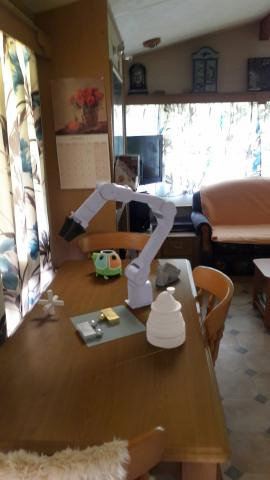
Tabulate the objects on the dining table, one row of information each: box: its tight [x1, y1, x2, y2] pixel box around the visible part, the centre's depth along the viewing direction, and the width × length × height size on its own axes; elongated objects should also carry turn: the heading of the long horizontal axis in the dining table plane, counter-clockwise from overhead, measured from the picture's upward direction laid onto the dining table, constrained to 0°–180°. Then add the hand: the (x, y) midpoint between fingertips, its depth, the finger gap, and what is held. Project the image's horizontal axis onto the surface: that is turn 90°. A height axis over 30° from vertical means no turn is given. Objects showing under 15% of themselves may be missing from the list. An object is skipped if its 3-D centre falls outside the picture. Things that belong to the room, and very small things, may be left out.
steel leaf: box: [76, 320, 103, 343], centre depth 124 cm, size 9×6×2 cm
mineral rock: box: [155, 261, 182, 287], centre depth 163 cm, size 13×11×10 cm
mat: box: [69, 304, 147, 348], centre depth 130 cm, size 22×22×1 cm
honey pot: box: [145, 286, 186, 349], centre depth 117 cm, size 13×13×18 cm
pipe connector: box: [37, 289, 65, 316], centre depth 138 cm, size 10×10×10 cm
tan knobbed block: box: [98, 307, 120, 325], centre depth 133 cm, size 9×6×2 cm
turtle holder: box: [91, 249, 123, 280], centre depth 177 cm, size 12×18×12 cm
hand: (63, 238), depth 126 cm, fingers open, 7 cm apart
